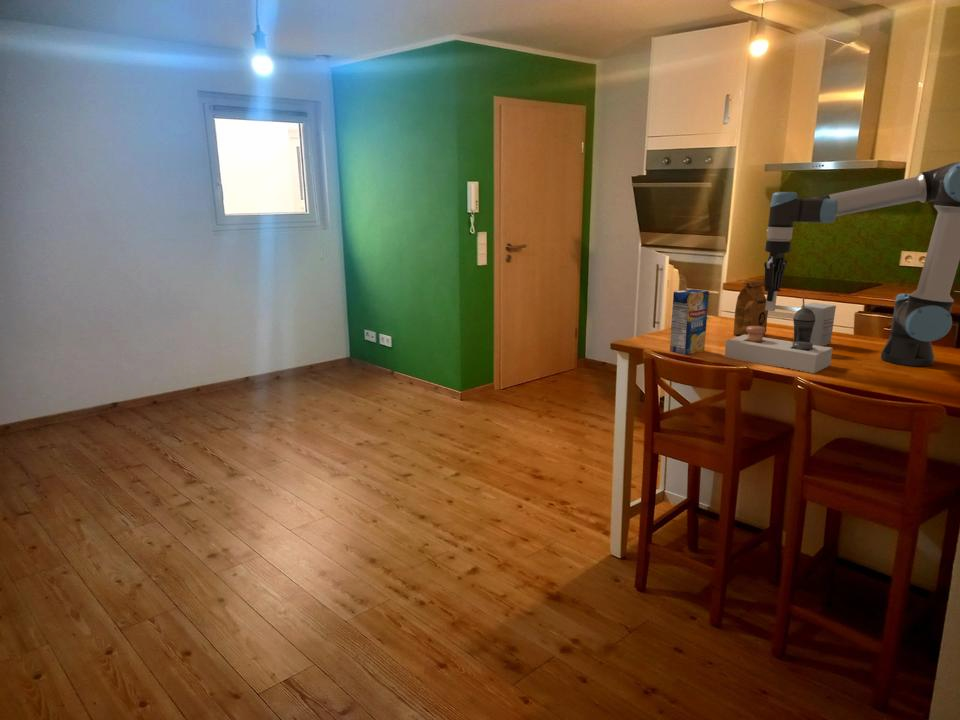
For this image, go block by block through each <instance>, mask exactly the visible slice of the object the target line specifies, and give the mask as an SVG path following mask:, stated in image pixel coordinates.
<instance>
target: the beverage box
mask: <svg viewBox="0 0 960 720" xmlns="http://www.w3.org/2000/svg"><path fill="white" fill-rule="evenodd" d="M709 293H710V291H709V290H704V289H696V288H695V289H694V288H692V289H684V290H682V289H681V290H676V291H673V298H672V307H671V308H672V309H671V310H672V312H671V324H670V325H671V326H670V327H671V328H670V339H669V340H670V341H669V342H670V344H669V352H670V353H675V354H678V355H683V356H687V355H686V354H688V355H691V354H690V353H692V354H696V353H695V352H697V353H700V352H699V351H701V352H705V347H706V334H707V333H706V332H707V322H708V321H707V319H708V318H707V317H708V310H709V309H708V308H709V295H710V294H709Z"/></svg>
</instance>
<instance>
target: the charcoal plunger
mask: <svg viewBox="0 0 960 720" xmlns="http://www.w3.org/2000/svg"><path fill="white" fill-rule="evenodd" d="M792 342H793V345H792V347H793V348H794V349H798V350H805V351H809V350H810V349H812V348H813V344H812V343H809V342H801V341H797V342H794V341H792Z"/></svg>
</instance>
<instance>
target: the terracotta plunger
mask: <svg viewBox="0 0 960 720" xmlns="http://www.w3.org/2000/svg"><path fill="white" fill-rule="evenodd" d="M746 331H747V332H748V339H747V341H748V342H755V343H762V339H763V337H764V335H763V333H765V334H766V332H765V327H761V326H747V330H746Z"/></svg>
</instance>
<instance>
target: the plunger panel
mask: <svg viewBox="0 0 960 720" xmlns="http://www.w3.org/2000/svg"><path fill="white" fill-rule="evenodd" d="M747 339H748V335H745V334H744V335H741V336H739V335H737V336H736V337H734V338H730V339H728V340H725V350H724V358H726V357H728V358H727V359H732V358H733V359H732V360H737V361H738V360H739V361H744V362H748V363H753V364H755V363H756V364H760V365H765V366H770V365H771V367H776V366H778V367H777V368H781V367H784V368H783V369H787V368H790V369H789V370H792V369H795V370H794V371H798V370H800V371H799V372H803V371H804V372H805V373H808V372H809V374H816V373H818V372H820V371H821V370H824V369H826V368H828V367H830V366H831V364H832V363H831V362H832V354H833V347H831V346H830V347H829V346H817V345H813V348H812V349H810V350H809V351H805V350H798V349H794V348H793V347H792V345H793V342H794V341H789V340H783V339H775V338H770V337H764V336H763V339H762V343H755V342H748V341H747Z"/></svg>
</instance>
